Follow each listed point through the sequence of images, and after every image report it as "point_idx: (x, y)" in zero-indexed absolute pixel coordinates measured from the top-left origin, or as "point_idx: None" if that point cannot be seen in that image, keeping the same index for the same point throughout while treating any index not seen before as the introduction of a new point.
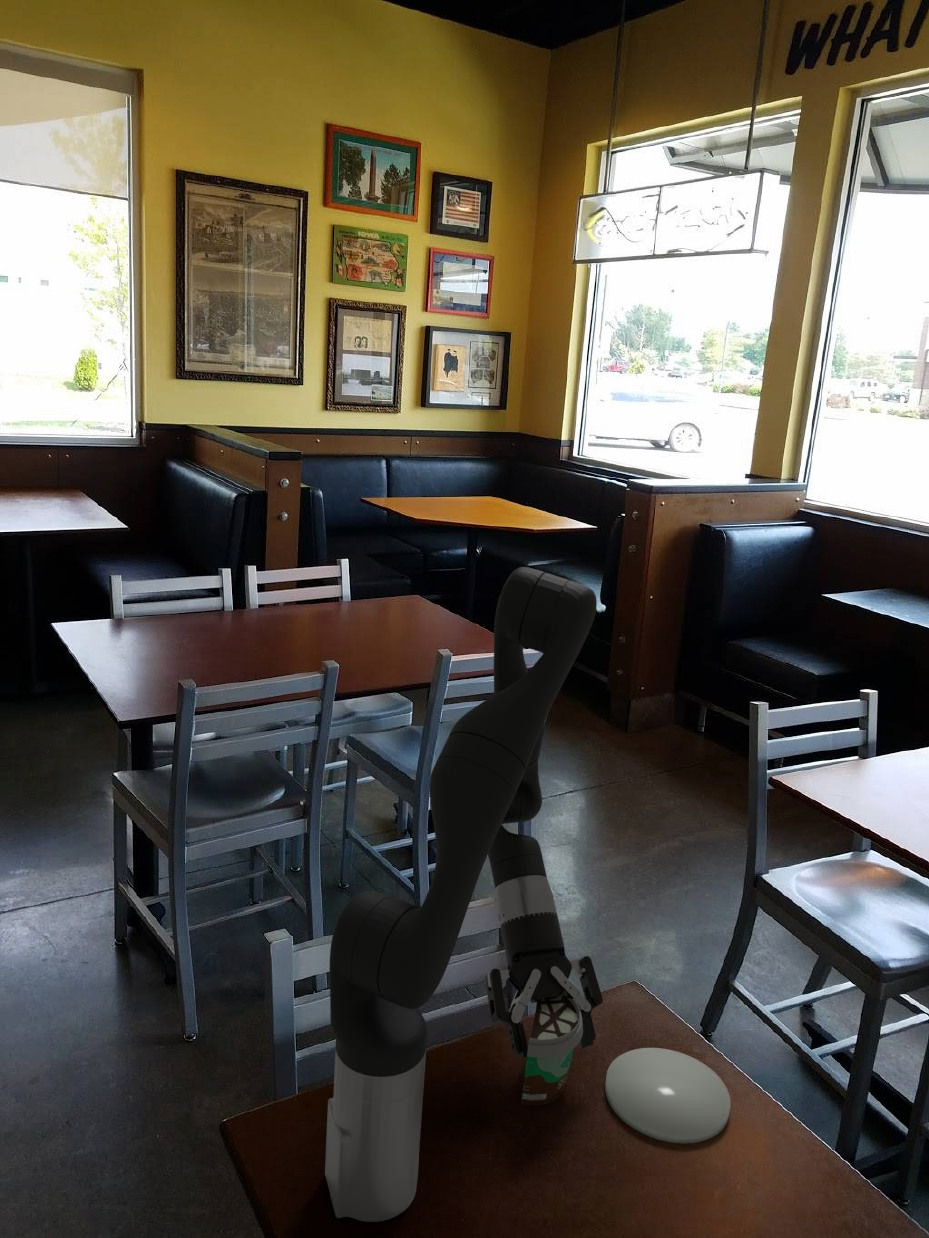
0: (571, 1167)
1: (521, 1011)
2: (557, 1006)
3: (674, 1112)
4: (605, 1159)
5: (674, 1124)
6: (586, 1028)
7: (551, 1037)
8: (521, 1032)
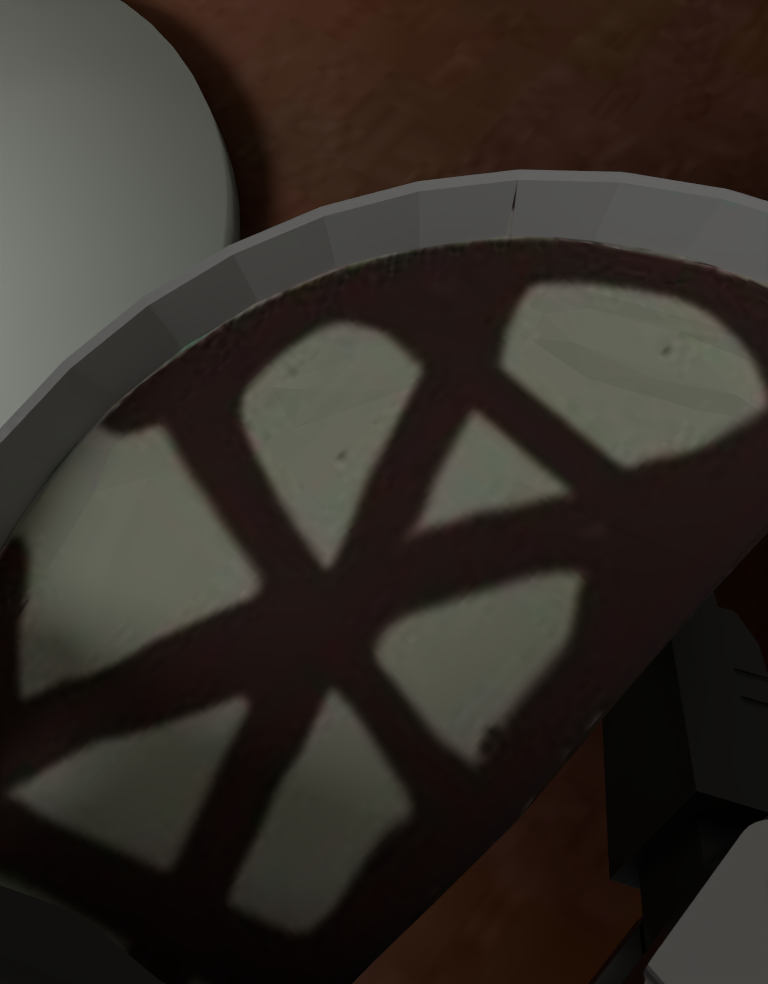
0: (620, 134)
1: (723, 945)
2: (128, 779)
3: (32, 96)
4: (461, 104)
5: (90, 46)
6: None
7: (582, 350)
8: (723, 709)
